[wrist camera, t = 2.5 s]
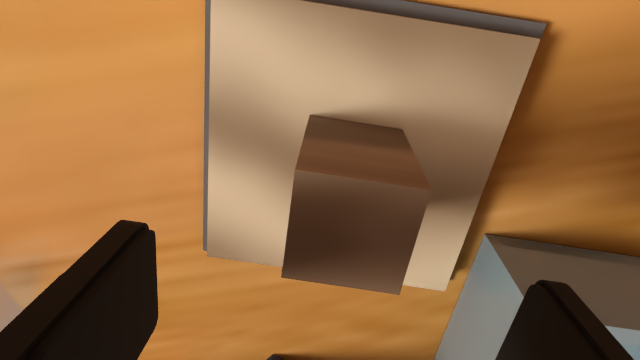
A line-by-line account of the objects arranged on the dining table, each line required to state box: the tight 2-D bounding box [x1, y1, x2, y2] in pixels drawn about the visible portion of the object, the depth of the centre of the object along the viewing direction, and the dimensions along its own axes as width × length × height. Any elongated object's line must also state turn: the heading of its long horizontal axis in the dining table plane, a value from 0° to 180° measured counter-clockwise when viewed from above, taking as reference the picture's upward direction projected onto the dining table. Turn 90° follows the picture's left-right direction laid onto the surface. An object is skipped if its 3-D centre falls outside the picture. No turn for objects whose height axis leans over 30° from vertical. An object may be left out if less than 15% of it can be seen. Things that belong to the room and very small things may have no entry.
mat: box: [203, 0, 546, 267], centre depth 16 cm, size 12×12×1 cm
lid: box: [207, 0, 540, 295], centre depth 13 cm, size 11×11×6 cm
